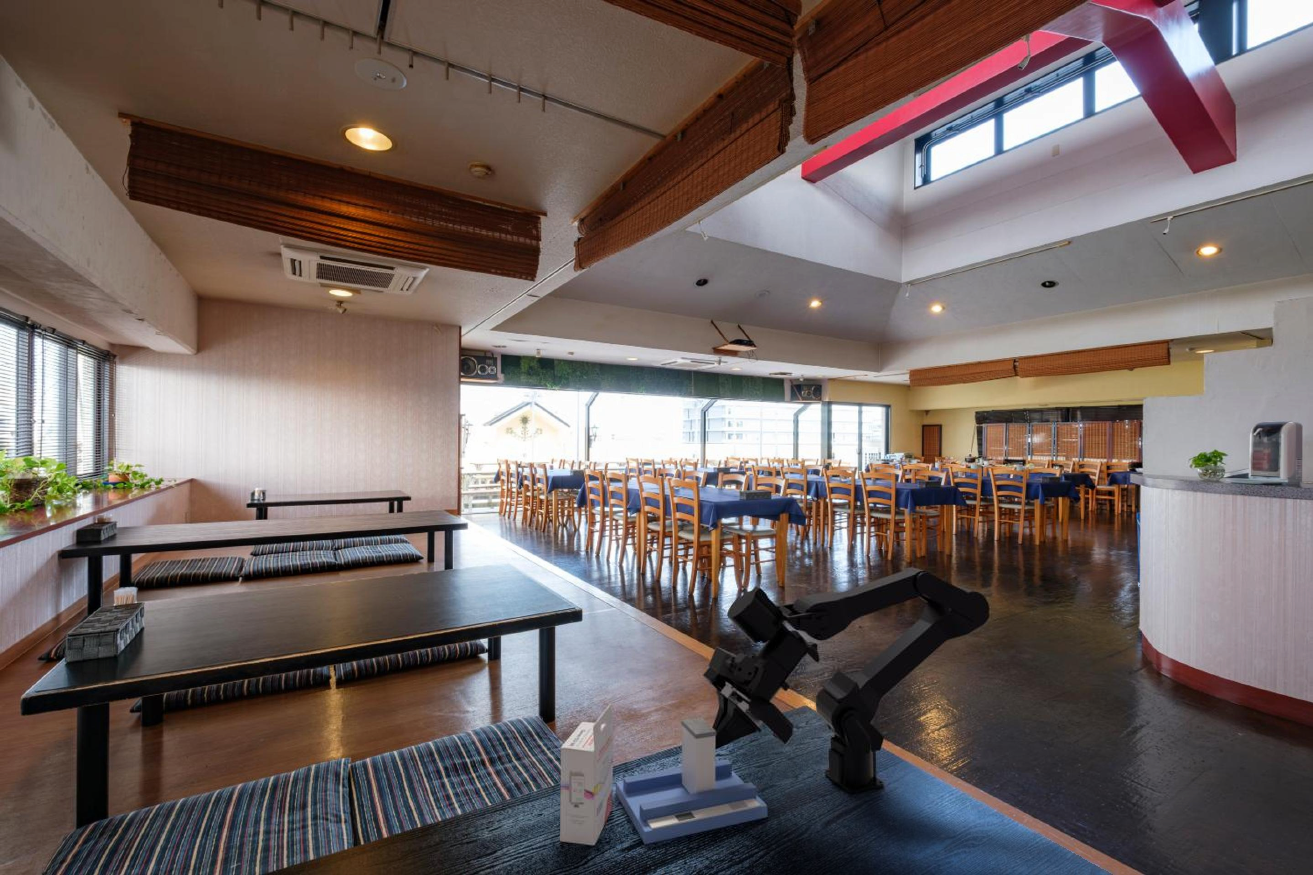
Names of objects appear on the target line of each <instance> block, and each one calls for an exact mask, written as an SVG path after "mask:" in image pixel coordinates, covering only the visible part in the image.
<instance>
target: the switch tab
mask: <svg viewBox="0 0 1313 875" xmlns="http://www.w3.org/2000/svg"><path fill="white" fill-rule="evenodd" d="M680 722H681V723H680V724H681V767H682V784H683V786H684V787H685V788H686V789H687V791H688V792H689V793H690V794H693V793H698V792H704V791H709V790H714V789H715V761H716V750H715V736H716V731H715V730H714V729H713V728H712V727H713V726H711V725H710V724H709V723H708V722H707V721H705V720H704V719H703V718H702V717H694V718H687V719H680Z"/></svg>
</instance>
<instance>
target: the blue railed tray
mask: <svg viewBox="0 0 1313 875" xmlns="http://www.w3.org/2000/svg"><path fill="white" fill-rule="evenodd" d="M622 779H623V780H620V781H619V780H618V781H615V793H616V795H617V797H618V800H619V801H620V803H621V805H622V806H623V808H624V810H625V812H626V814H627V815H628V817H629V819H630V821H631V822H632V824H633V827H634V828H635V830H636V831H637V833H638V835H639V836H640V839H641V840H642V842H643V844H644V845H647V844H652V843H658V842H662V841H666V840H671V839H676V838H679V837H684V836H689V835H692V834H698V833H702V832H706V831H711V830H714V829H715V830H716V829H719V828H724V827H729V826H733V825H738V824H742V823H746V822H751V821H752V822H753V821H756V820H760V819H764V818H765V819H766V818H767V817H768V805H767V804H766V803H765V802H764V801H763V800H762V799H761V798H760V797H759V796H758V795H757V786H755V784H753V782H751V781H750V782H744V780H742V779H741V778H740V777H739V776H738V775H737V774H736V773H735V772H734V771H733V764H732V762H731V761H730V760H728V759H721V760H720V759H719V760H715V789H714V790H709V791H704V792H698V793H693V794H690V793H689V792H688V791H687V789H686V788H685V787H684V786H683V784H682V766H681V767H677V768H670V769H665V770H659V771H655V772H654V771H653V772H648V773H641V774H637V775H636V774H635V775H632V776H631V775H629V776H626V777H623V778H622Z"/></svg>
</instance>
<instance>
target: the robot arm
mask: <svg viewBox="0 0 1313 875" xmlns="http://www.w3.org/2000/svg"><path fill="white" fill-rule="evenodd" d="M917 598H920V599H921V600H922V601H924V602H926V603H925V607H924V609H923V612H922V616H921V617H920V618H919V620H917V621H916V622H915V623H914V624H913V625H912V626H910V628H908V629H907V630H906V631H905V632H903V634H901V635H900V636H899V637H897V638H896V640H894V641H893V642H892V643H891V644H890V645H888V646H887V647H886V648H885V649H884V650H883V651H882V652H880V653H879V654H878V655H877V656H876V657H875V658H874V659H873V660H871V661H870V662H869V663H868V664H867V665H866V666H864V667H863V668H861V670H860V671H859V672H857V673H854V674H851V675H847V674H846V673H845V672H843V670H840V669H839V670H838V671H837V672H835V673H834V674H833V675H832V677H831V678H830V679H829V680H828V681H826V682H824V683H821V684H820V687H821V689H820V690H819V692H817V694H816V697H815V699H816V700H815V708H816V709H815V710H816V712H817V714H818V716H819V717H820V718H821V719H822V720H823V721H824V722H825V723H826V724H825V725H826V726H827V729H828V730H830V731H831V732H832V733H833V734H834V736H831V737H830V748H828V769H827V768H826V769H825V770H824V775H826V776H827V777H828V778H829V779H831V780H832V781H833V782H835V783H836V784H838V786H840V787H841V788H842V789H844V790H846V791H847V793H850V794H856V793H860V792H864V791H865V792H866V791H869V790H873V789H879V788H883V787H885V782H884V781H883V780H881V779H880V778H879V777H877V752H878V751H879V752H880V751H881V750H882V746H883V742H884V739H885V738H884V737H885V736H884V735H883V734H882V733H881V732H880V731H879V730H878V729H877V728H876V727H875V726H874V725H873V724H872V722H873V721H874V719H876V717H877V716H876V715H877V714H878V713H877V712H878V710H879V706H880V704H881V701H882V699H883V698H884V697H885V696H886V695H888V693H890V692H891V691H892V690H893V689H894V688H895V687H897V686H898V685H899V684H900V683H901V682H902V681H904V679H906V678H907V677H908V676H909V675H910V674H912V673H913V672H914V671H915V669H917V668H918V667H919V666H921V664H922V663H923V662H925V661H926V660H927V659H928V658H929V657H930V656H931V655H933V654H934V653H935V652H936V651H937V650H938V649H939V648H941V646H943V645H944V644H945V643H947V642H948V641H950V640H954V639H958V638H961V637H964V636H968V635H970V634H972V633H974V632H975V631H977V630H978V629H980V628H981V627H983V626H984V625H986V624H987V623H988V621H989V619H990V617H991V615H990V605H989V602H988V600H987V597H985V595H983V594H982V593H981V592H978V591H975V590H973V589H968V588H965V587H961V586H957V585H953V584H951V583H950V582H948V581H945V580H943V579H941V578H939V577H938V576H936V575H934V574H932V573H931V572H930V571H927V570H924V569H921V568H916V567H912V566H911V567H907V568H905V569H903V570H901V571H899V572H897V573H893V574H891V575H888V576H884V577H882V578H879V579H876V580H873V581H871V582H867V583H864V584H862V585H858V586H856V587H853V588H849V589H847V590H844V591H839V592H821V593H814V594H807V595H802V596H800V597H798V598H796V599H795V600H794V602H791V603H785V604H780V605H776V604H775V603H774V602H773V601H772V600H771V598H770V597H769V596H768V595H767V593H766V592H765V590H763V589H762V588H761V587H760V586H759V585H755V586H754V587H753V589H751V590H750V591H747V592H745V593H744V594H742V595H741V596H740V597H738V596H737V598H736V599H735V600H733V602H732V604H731V605H730V607H729V608H728V610H727V618H728V619H729V620H730V621H731V622H732V623H733V624H734V625H735V626H736V627H737V628H738V630H740V631H741V632H742V633H743V635H745V636H746V638H748V639H749V640H750V641H751V642H752V643H754V644H757V643H759V642H761V643H763V646H762V647H761V648H760V650H759V651H758V652H756V654H754V653H753V652H749V653H747V654H745V653H743V652H740V653H738V654H737V655H736V654H735V653H733V652H730V651H727V650H726V649H724V648H721V647H719V646H716V647H715V649H714V651H713V654H712V656H711V659H710V662H709V663H708V668H707V670H706V671H705V672H704V673H703V675H702V676H703V677H704V679H705V680H706V681H708V683H709V685H712V687H713V688H715V690H716V691H715V693H716V696H717V699H718V700H717V701H718V710H717V713H716V717H715V719H714V722H713V725H712V726H711V727H712V728H713V729H714V730H715V731H716V736H715V751H716V750H718V749H720V748H722V747H725V746H726V745H729V744H730V743H733V742H735V741H738V740H739V739H741V738H745V737H746V736H750V735H752V734H754V733H759V734H761V733H762V732H763V730H762V729H761V728H760V727H761V726H762V724H764V725H765V727H767V728H768V729H769V731H770V732H772V736H773V737H774V738H775V739H776V740H778V741H779V742H780V743H782V744H783V745H784V746H785V747H786V746H787V744H788V743H789V741H790V740H791V739H792V737H793V736H794V724H793V723H792V722H791V720H789V719H788V718H787V717H786V715H785V714H784V713H783V712H782V711H781V710H780V709H779V708H778V707H777V706H776V705H775V704H774V703H772V701H773V699H774V698H775V697H776V695H777V694H778V692H779V691H780V690H783V691H784V692H787V691H788V690H789V688H790V687H791V686H790V685H789V683H787V681H788V679H790V677H791V676H792V674H793V673H794V672H795V671H796V669H797V668H798V666H799V665H800V663H801V662H802V661H803V659H807V660H810V661H812V662H814V663H819V662H820V655H819V651H818V643H816V642H812V641H808V640H807V639H806V638H804V636H803V635H802V634H801V633H800V632H803V633H804V634H806V635H807V636H808V637H810V638H812V639H814V640H816V641H819V642H820V641H821V642H822V641H827V640H830V639H832V638H834V637H835V636H837V635H839V634H840V633H842V632H843V631H845V630H847V629H848V627H849V626H850V625H851V624H852V623H853V622H854V621H856V620H858V619H859V618H862V617H866V616H868V615H871V614H873V613H876V612H880V611H883V610H885V609H888V608H890V607H893V606H897V605H900V604H902V603H905V602H908V601H911V600H913V599H917ZM783 622H784V623H785V624H786V625H788V626H790V627H792V629H793V630H789V629H788V627H786V625H784V623H783ZM799 631H800V632H799Z"/></svg>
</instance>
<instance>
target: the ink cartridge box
mask: <svg viewBox="0 0 1313 875" xmlns="http://www.w3.org/2000/svg"><path fill="white" fill-rule="evenodd" d="M613 718H614V717H613V706H612V703H609V705H608V706H607V707H606V709H604V711H603V712H602V714H600V716H599V717H598V719H597V720H596V721H595V722H587V721H581V722H580V724H579V725H578V727H576V728H575V730H574V731H573V732H572V734H570V736H569V737H568V739H567V740H566V741H565V742H563V744H562V745H561V747H560V812H559V813H560V814H559V816H560V819H559V821H560V823H559V824H560V826H559V828H560V829H559V830H560V832H559V833H560V834H559V841H560V842H564V843H573V844H579V845H580V844H581V845H587V846H595V845H596V843H597V841H598V839H599V837H600V835H601V833H602V831H603V829H604V826H605V824H606V822H607V821H608V818H609V816H610V814H611V811H612V810H613V778H614V777H613V776H614V775H613V773H614V756H613V755H614V720H613ZM604 721H605V723H604Z"/></svg>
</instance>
